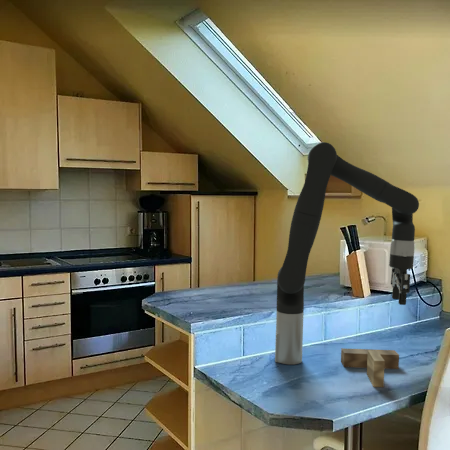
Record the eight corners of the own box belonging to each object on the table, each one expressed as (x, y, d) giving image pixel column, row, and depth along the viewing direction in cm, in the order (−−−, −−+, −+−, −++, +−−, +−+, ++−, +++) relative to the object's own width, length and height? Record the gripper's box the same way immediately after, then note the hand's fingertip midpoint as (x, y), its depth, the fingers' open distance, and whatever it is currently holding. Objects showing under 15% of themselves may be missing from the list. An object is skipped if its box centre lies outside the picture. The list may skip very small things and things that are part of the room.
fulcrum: (373, 386, 144) (374, 360, 143) (366, 374, 154) (367, 349, 153) (383, 387, 143) (384, 361, 143) (376, 375, 153) (377, 350, 153)
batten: (343, 367, 160) (344, 353, 160) (340, 362, 165) (341, 348, 165) (398, 369, 160) (399, 355, 159) (393, 364, 165) (394, 350, 164)
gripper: (385, 250, 167) (382, 296, 168) (395, 255, 153) (392, 305, 154) (407, 251, 167) (404, 298, 168) (420, 256, 152) (416, 307, 153)
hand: (398, 301), depth 161 cm, fingers open, 8 cm apart
